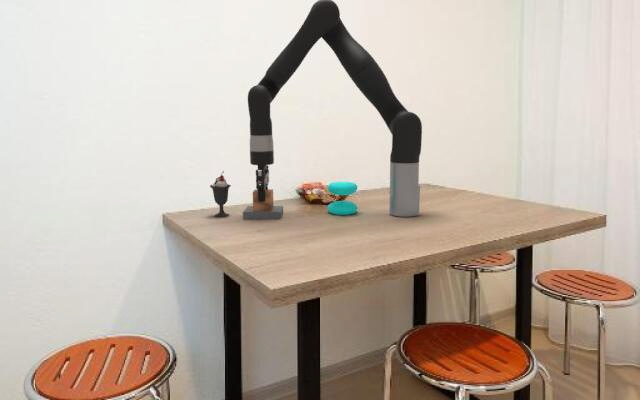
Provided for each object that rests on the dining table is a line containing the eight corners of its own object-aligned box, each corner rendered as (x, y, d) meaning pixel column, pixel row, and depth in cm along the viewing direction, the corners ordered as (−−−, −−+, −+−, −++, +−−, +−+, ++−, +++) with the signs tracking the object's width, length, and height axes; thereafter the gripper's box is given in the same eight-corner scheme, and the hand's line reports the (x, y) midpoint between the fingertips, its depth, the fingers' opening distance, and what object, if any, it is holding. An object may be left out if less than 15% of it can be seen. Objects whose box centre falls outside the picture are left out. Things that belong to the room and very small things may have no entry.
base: (283, 214, 164) (283, 205, 163) (280, 221, 154) (280, 211, 154) (247, 214, 164) (247, 206, 163) (243, 221, 154) (242, 212, 154)
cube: (273, 207, 161) (273, 189, 160) (271, 210, 156) (271, 192, 155) (255, 207, 161) (255, 189, 160) (253, 210, 156) (252, 192, 154)
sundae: (227, 218, 157) (225, 171, 154) (208, 217, 158) (205, 171, 155) (235, 213, 163) (233, 169, 160) (216, 213, 164) (214, 169, 162)
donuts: (336, 186, 155) (322, 182, 164) (336, 216, 157) (322, 211, 166) (363, 184, 159) (348, 180, 168) (362, 213, 161) (348, 208, 170)
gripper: (271, 151, 148) (272, 203, 151) (275, 147, 162) (276, 195, 165) (246, 151, 148) (248, 203, 151) (252, 148, 162) (254, 195, 165)
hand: (263, 199), depth 158 cm, fingers open, 8 cm apart
